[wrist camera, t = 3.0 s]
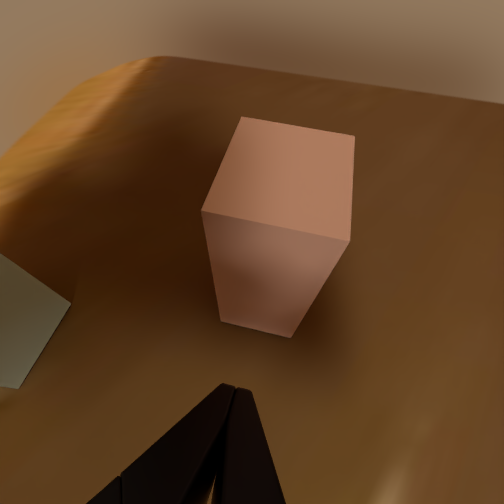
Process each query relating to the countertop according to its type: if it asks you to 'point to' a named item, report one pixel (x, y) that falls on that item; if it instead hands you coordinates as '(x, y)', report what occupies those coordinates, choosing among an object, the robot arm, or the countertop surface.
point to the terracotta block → (277, 221)
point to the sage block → (24, 321)
